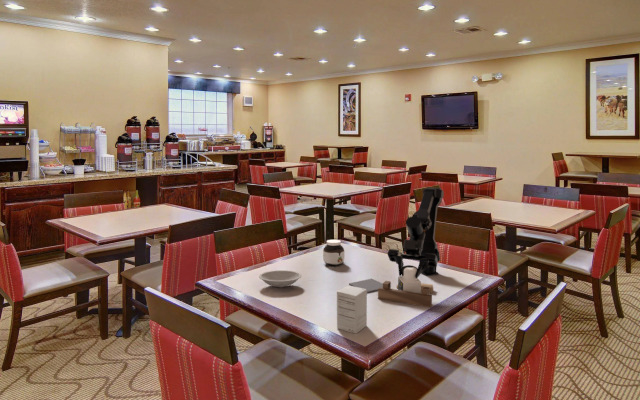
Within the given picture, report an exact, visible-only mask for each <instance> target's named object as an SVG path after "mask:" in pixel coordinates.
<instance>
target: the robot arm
mask: <svg viewBox="0 0 640 400" xmlns="http://www.w3.org/2000/svg"><path fill="white" fill-rule="evenodd" d="M444 196H445V192H444V190H442V188H441V187H428V186H427V187H425V188H422V197H421V201H420V205H419V206H418V207H419V208H418V210H417V211H415V212H414V213H413V214H412V216H410V217H408V218H407V219H406V220H405V224H406V225H405V226H406V228H407V231H408V234H409V238H408V239H404V240H403V241H404V242H403V246H402V247H403V250H404V253H403V252H400V250H399V249H396V248H395V249H394V248H390V249H389V250H388V251H387V256H388V259H389V261H390V262H393V263H396V264H397V266H398V267H397V268H398V277H399V276H402V267H403V266H405V265H404V260H409V261H410V260H413V261H418V267H417V272H416V279H417V278H418V279H419V276H421V274H423V275H425V276H431V275H432V276H433V275H439V272H438V271H437V268H438V262H440V261H441V255H440V251H439V248H438V243H437V242H436V240H435V238H436V227H437V217H438V216H437V215H438V208H439V206H440V205H441V204H442V202H443V199H444Z"/></svg>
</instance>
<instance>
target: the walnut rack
mask: <svg viewBox="0 0 640 400" xmlns="http://www.w3.org/2000/svg"><path fill="white" fill-rule="evenodd" d="M382 283H383V287H379V288H378V291H377V299H379V300H384V301H390V302H396V303H403V304H409V305H414V306H419V307H424V308H425V307H426V308H431V307H432V306H433V295H432V294H431V293H430V287H425V286H424V287H423V289H422V292H421V293H415V292H408V291H402V290H398V289H397V288H396V289H395V288H391V287H392V286H391V284H392V283H391V281H390V280H385V281H383V282H382Z"/></svg>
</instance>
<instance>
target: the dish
mask: <svg viewBox="0 0 640 400" xmlns="http://www.w3.org/2000/svg"><path fill="white" fill-rule="evenodd" d="M258 278H259V279H260V280H262V281H263V282H264V283H265V284H267V285H269V286H271V287H277V288H279V287H282V288H284V287H288V286H291V285H293V284H295V283H296V282H297V281H298V280H299V279H301V278H302V273H300V272H297V271H292V270H271V271H265V272H262V273H259V275H258Z"/></svg>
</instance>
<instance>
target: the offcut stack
mask: <svg viewBox="0 0 640 400" xmlns="http://www.w3.org/2000/svg"><path fill="white" fill-rule="evenodd" d="M424 286H425V287H430V293H429V294H432V293H433V291H434V284H432V283H431V284H430V283H424V282H423V283H422V282H421V293H422V289H423V287H424ZM396 289H398V284H396Z"/></svg>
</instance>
